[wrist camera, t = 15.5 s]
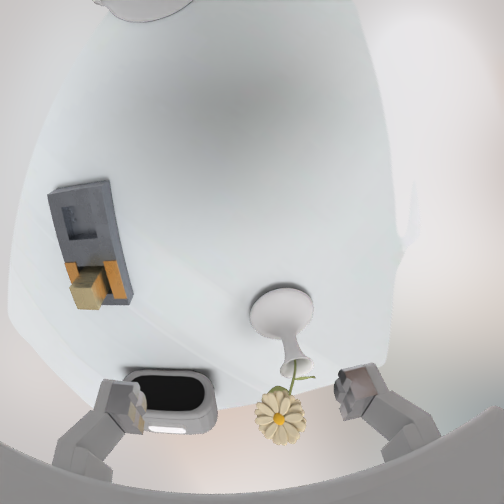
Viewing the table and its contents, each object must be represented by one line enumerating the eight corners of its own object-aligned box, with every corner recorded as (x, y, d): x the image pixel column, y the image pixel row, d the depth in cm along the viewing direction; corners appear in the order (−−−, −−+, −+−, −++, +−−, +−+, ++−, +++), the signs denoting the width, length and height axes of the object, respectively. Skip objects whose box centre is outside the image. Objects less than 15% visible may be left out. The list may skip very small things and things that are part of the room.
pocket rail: (56, 188, 34) (46, 195, 31) (109, 180, 35) (100, 186, 32) (86, 294, 43) (79, 305, 40) (133, 294, 44) (129, 305, 41)
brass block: (86, 263, 39) (69, 287, 33) (106, 262, 40) (90, 287, 33) (92, 283, 41) (77, 309, 35) (112, 283, 42) (98, 309, 35)
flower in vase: (293, 270, 45) (345, 402, 23) (320, 311, 50) (368, 426, 28) (228, 308, 47) (237, 443, 25) (262, 343, 52) (283, 459, 30)
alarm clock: (213, 367, 55) (214, 420, 43) (217, 390, 59) (218, 438, 48) (124, 364, 53) (112, 413, 41) (135, 387, 57) (127, 433, 46)
